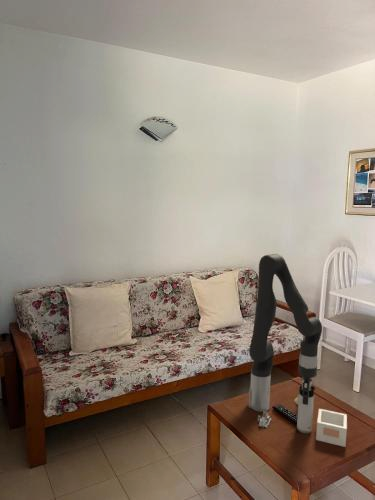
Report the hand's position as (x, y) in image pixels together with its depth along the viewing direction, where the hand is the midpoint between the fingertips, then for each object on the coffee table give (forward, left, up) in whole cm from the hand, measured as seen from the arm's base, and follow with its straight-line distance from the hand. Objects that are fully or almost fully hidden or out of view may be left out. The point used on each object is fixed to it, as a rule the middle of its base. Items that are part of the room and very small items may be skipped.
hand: (306, 399), depth 164 cm
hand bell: (-3, +23, -14) cm, 27 cm away
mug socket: (+11, 0, -14) cm, 18 cm away
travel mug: (0, 0, -14) cm, 14 cm away
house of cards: (-19, -1, -15) cm, 24 cm away
